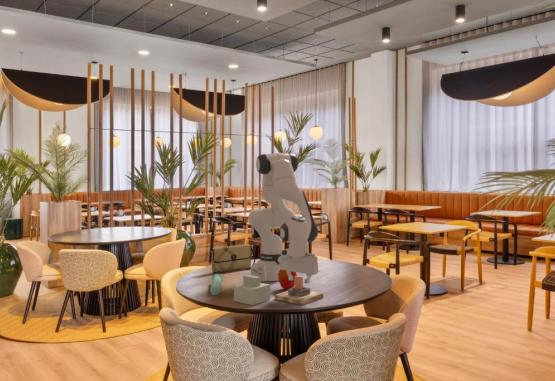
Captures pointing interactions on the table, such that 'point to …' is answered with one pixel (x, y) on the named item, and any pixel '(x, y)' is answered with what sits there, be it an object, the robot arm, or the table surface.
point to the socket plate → (299, 296)
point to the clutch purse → (231, 258)
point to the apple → (286, 279)
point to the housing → (251, 291)
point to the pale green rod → (216, 284)
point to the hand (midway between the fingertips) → (298, 281)
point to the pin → (298, 283)
